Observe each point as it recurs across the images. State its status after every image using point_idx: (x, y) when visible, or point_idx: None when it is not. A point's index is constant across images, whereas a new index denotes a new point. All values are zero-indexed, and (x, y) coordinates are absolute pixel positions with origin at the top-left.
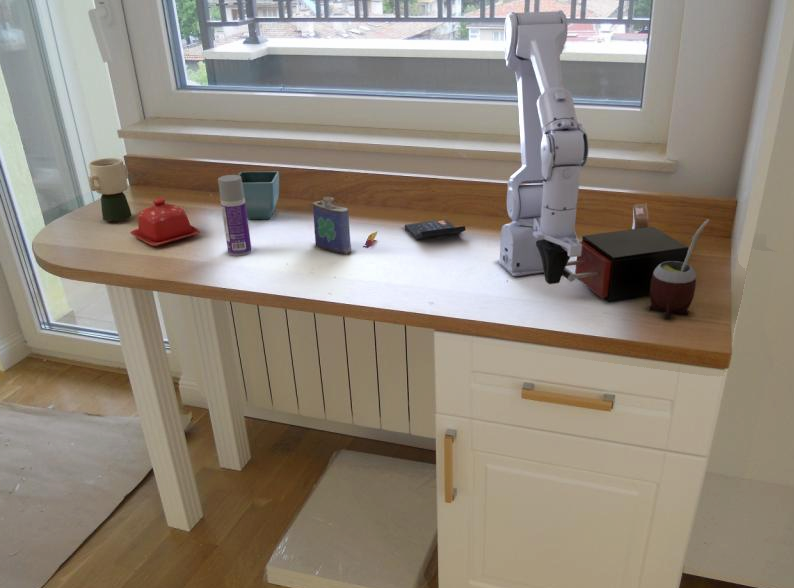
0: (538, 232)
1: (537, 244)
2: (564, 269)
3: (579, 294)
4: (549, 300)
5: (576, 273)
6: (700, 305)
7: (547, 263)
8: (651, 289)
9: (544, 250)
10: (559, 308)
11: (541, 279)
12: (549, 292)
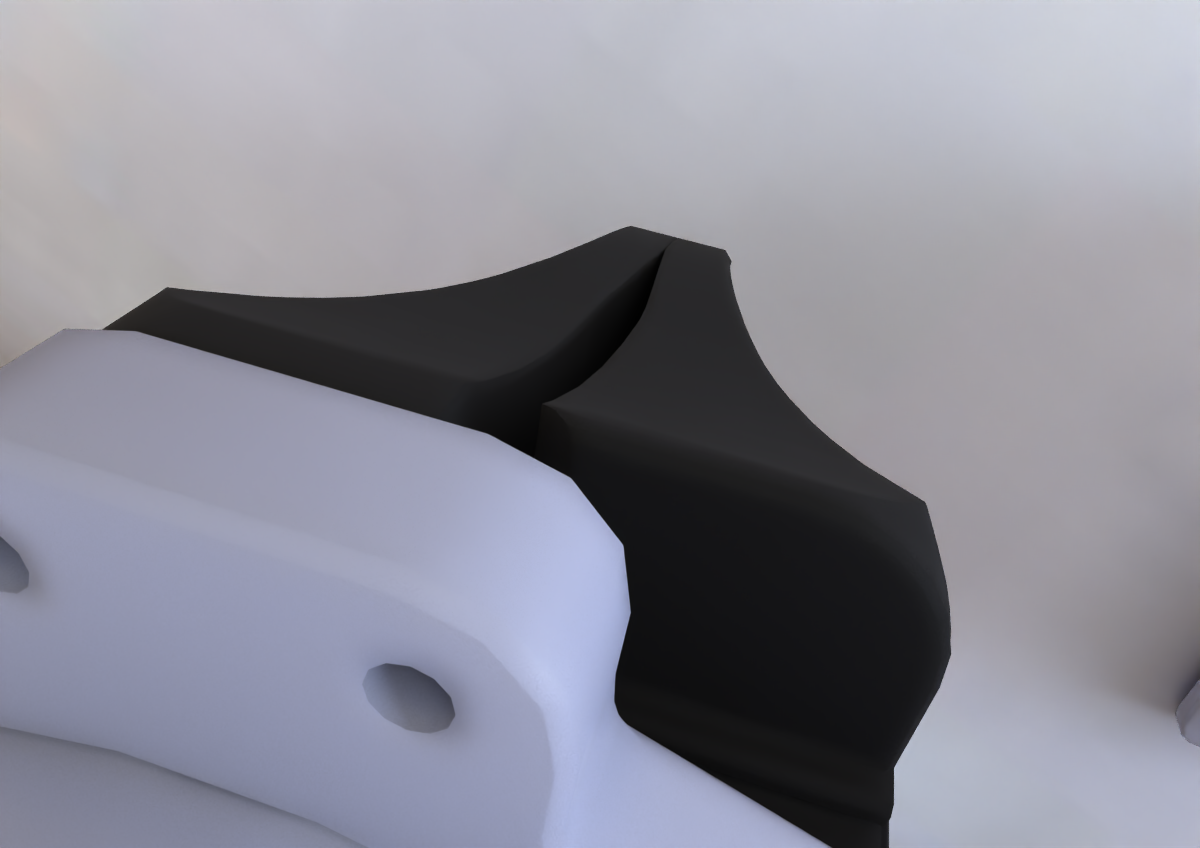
0: (273, 729)
1: (742, 462)
2: None
3: None
4: (632, 152)
5: None
6: None
7: (492, 302)
8: None
9: (270, 325)
10: (411, 112)
11: (1164, 451)
12: (809, 291)
